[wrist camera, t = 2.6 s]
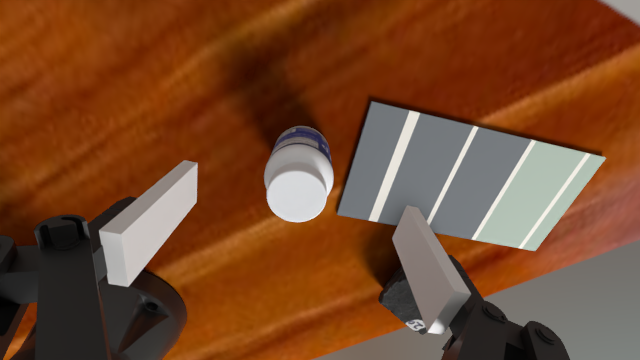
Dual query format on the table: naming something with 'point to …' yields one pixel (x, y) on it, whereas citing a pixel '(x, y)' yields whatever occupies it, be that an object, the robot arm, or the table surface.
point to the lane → (462, 178)
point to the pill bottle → (299, 174)
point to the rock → (402, 301)
